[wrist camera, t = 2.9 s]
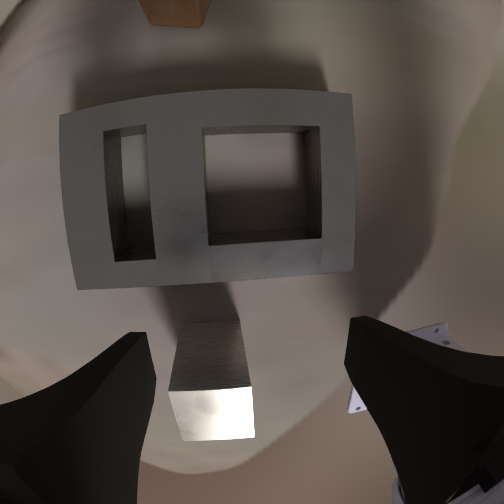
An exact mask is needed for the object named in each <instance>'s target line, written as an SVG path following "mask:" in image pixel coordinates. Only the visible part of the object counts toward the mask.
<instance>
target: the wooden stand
mask: <svg viewBox="0 0 504 504" xmlns="http://www.w3.org/2000/svg"><path fill="white" fill-rule="evenodd" d="M210 1H211V0H139V2H140V4H141V6H142V8H143V10H144V13H145V15H146V17H147V19H148V21H149V23H150V24H152V25H164V26H179V27H191V28H200V26H201V25H202V24H203V21H204V18H205V15H206V13H207V10H208V7H209V4H210Z"/></svg>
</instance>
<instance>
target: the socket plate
mask: <svg viewBox="0 0 504 504" xmlns="http://www.w3.org/2000/svg"><path fill="white" fill-rule="evenodd" d="M145 133H146V134H147V160H148V178H149V192H150V204H151V215H152V225H153V235H154V243H155V246H153V247H140V248H130V246H129V239H128V231H127V222H126V213H125V203H124V191H123V178H122V161H121V137H125V136H131V135H138V134H145ZM238 133H304V152H305V182H306V228H302V229H284V230H267V231H251V232H236V233H221V234H210V227H209V213H208V197H207V180H206V160H205V137H204V135H218V134H238ZM59 151H60V174H61V188H62V200H63V209H64V217H65V225H66V232H67V239H68V245H69V251H70V256H71V262H72V267H73V272H74V277H75V281H76V286H77V290H85V289H110V288H132V287H151V286H169V285H185V284H201V283H215V282H229V281H243V280H256V279H268V278H280V277H291V276H303V275H314V274H324V273H335V272H345V271H353V267H354V249H355V220H356V167H355V139H354V121H353V107H352V95H351V94H346V93H337V92H327V91H315V90H300V89H272V88H244V89H216V90H201V91H189V92H179V93H170V94H162V95H154V96H147V97H141V98H134V99H129V100H123V101H118V102H113V103H108V104H103V105H98V106H94V107H89V108H85V109H81V110H77V111H73V112H70V113H66V114H62V115H60V118H59Z"/></svg>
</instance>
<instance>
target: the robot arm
mask: <svg viewBox="0 0 504 504" xmlns="http://www.w3.org/2000/svg"><path fill="white" fill-rule="evenodd" d="M447 328H448V325H447V323H445V322H442V323H438V324H435V325H431V326H427V327H423V328H420V329H416V330H412V331H407V332H404V331H402V330H400V329H398V328H395V327H393V326H391V325H388V324H386V323H383V322H381V321H379V320H376V319H374V318H371V317H368V316H361V317H354V318H351V319H350V327H349V334H348V341H347V348H346V354H345V360H344V365H345V367H346V370H347V373H348V375H349V378H350V380H351V382H352V388H351V392H350V397H349V402H348V407H347V410H348V412H349V413H354V412H358V411H362V410H366V409H367V410H368V411H369V413H370V414H371V416H372V418H373V419H374V421H375V423H376V424H377V426H378V428H379V430H380V432H381V434H382V436H383V438H384V440H385V443H386V445H387V447H388V449H389V452H390V454H391V457H392V460H393V463H394V466H393V467H394V469H395V471H396V473H397V474H398V476H397V477H396V478H395V479H394V480H393V482H392V485H391V502H392V504H504V356H490V355H482V354H476V353H470V352H469V351H468V350H467V349H465V348H464V347H463V346H461V345H460V344H459V343H458V342H457V341H456V340H454V339H453V338H452V337H450V336H449V335H448V334H447V333H446V332H447ZM155 388H156V374H155V370H154V366H153V362H152V357H151V353H150V348H149V344H148V339H147V334H146V332H129V333H127V334H126V335H124V336H123V337H122V338H120V339H119V340H118V341H116V342H115V343H114V344H112V345H111V346H110V347H109V348H107V349H106V350H105V351H103V352H102V353H101V354H99V355H98V356H97V357H96V358H94V359H93V360H91V361H90V362H88V363H87V364H86V365H84V366H83V367H81V368H80V369H78V370H77V371H75V372H74V373H72V374H71V375H69V376H68V377H66V378H64V379H62V380H61V381H59V382H57V383H55V384H53V385H51V386H49V387H47V388H45V389H43V390H40V391H38V392H36V393H33V394H31V395H29V396H26V397H24V398H21V399H18V400H15V401H12V402H9V403H5V404H1V405H0V504H137V485H138V472H139V462H140V456H141V450H142V446H143V442H144V438H145V434H146V430H147V426H148V422H149V419H150V415H151V411H152V407H153V403H154V396H155Z"/></svg>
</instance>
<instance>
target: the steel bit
mask: <svg viewBox="0 0 504 504" xmlns="http://www.w3.org/2000/svg"><path fill="white" fill-rule="evenodd" d="M168 393H169V396H170V400H171V403H172V407H173V410H174V414H175V417H176V420H177V423H178V426H179V430H180V433H181V436H182V439H183V441H201V440H224V439H238V438H249V437H254V423H253V407H252V391H251V383H250V377H249V371H248V365H247V360H246V354H245V348H244V342H243V336H242V330H241V323H240V320H235V321H221V322H207V323H189V324H181V328H180V333H179V337H178V342H177V347H176V352H175V357H174V363H173V368H172V373H171V379H170V384H169V390H168Z"/></svg>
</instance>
